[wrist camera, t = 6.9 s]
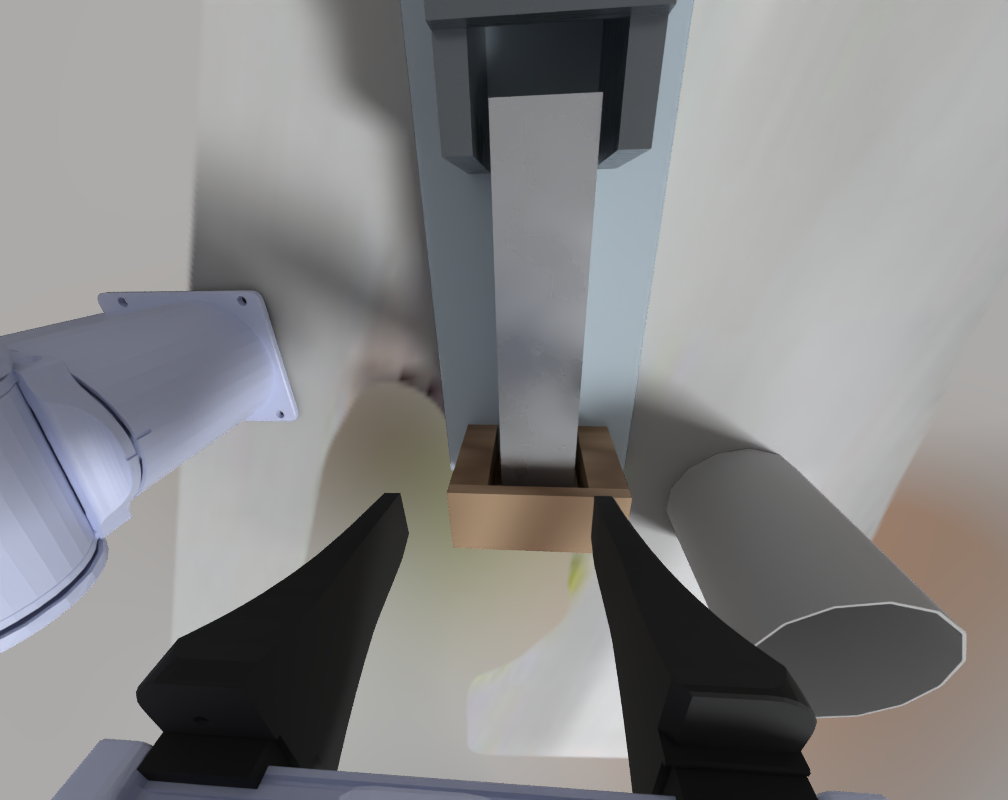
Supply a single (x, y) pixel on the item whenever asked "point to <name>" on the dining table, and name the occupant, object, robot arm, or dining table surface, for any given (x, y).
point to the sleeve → (485, 3)
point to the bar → (542, 275)
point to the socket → (531, 496)
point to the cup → (809, 586)
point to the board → (469, 223)
